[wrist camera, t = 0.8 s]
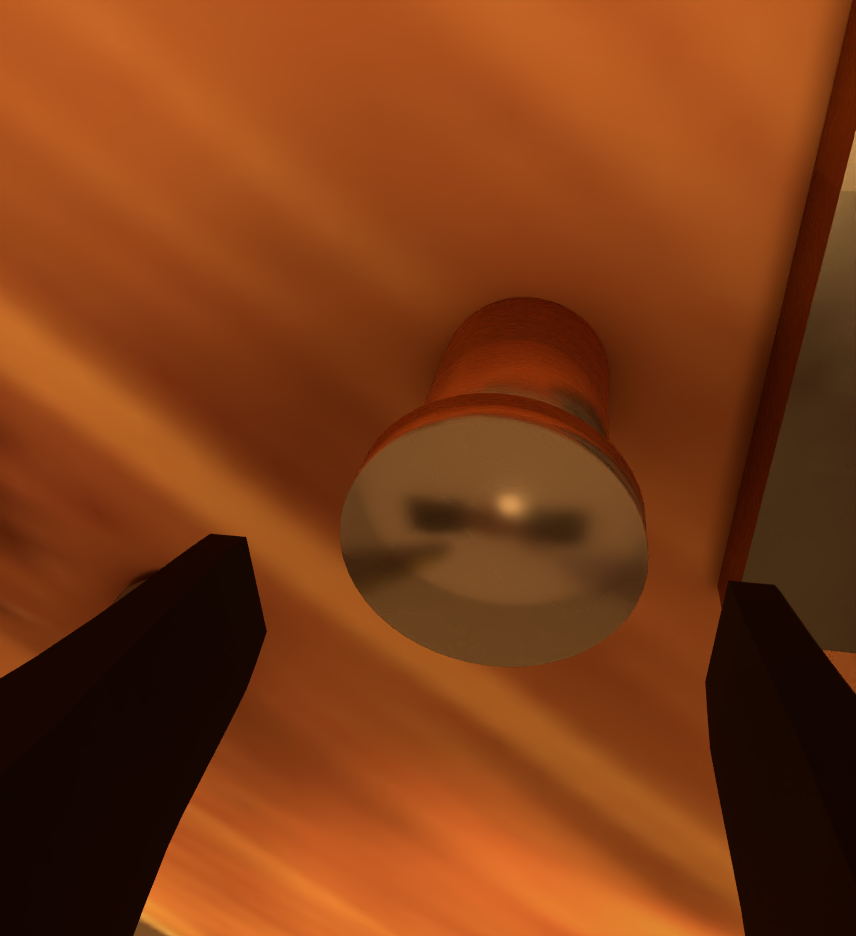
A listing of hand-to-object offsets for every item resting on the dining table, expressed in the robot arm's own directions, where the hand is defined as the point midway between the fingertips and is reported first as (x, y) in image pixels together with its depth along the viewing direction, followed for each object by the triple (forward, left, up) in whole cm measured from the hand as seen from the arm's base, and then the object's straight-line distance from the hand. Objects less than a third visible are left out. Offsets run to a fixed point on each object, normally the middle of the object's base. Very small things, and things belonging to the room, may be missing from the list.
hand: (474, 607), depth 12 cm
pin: (0, 0, -8) cm, 9 cm away
